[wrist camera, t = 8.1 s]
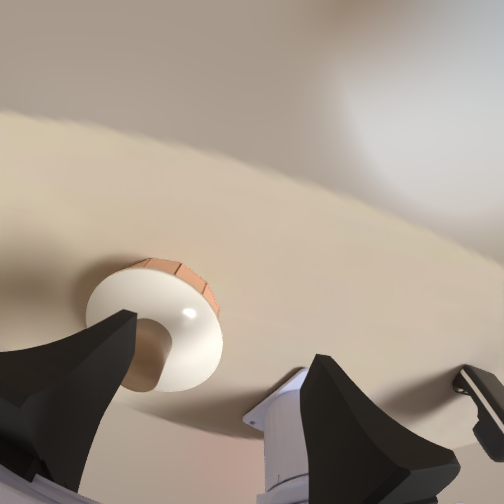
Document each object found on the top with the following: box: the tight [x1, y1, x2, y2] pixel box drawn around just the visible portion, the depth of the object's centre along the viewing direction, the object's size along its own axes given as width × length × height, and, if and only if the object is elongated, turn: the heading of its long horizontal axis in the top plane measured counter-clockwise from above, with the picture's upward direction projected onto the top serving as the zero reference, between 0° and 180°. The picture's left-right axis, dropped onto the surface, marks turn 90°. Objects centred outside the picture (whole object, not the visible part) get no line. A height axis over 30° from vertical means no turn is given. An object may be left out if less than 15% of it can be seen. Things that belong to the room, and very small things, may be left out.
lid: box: [86, 267, 223, 392], centre depth 17 cm, size 9×9×4 cm
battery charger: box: [452, 365, 504, 462], centre depth 19 cm, size 7×4×11 cm, turn 65°
